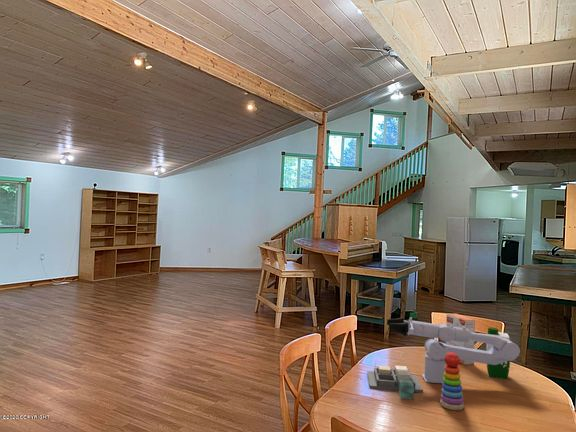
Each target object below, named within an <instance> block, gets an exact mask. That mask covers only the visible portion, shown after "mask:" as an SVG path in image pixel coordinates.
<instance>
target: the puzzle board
mask: <svg viewBox="0 0 576 432" xmlns="http://www.w3.org/2000/svg"><path fill="white" fill-rule="evenodd" d="M373 368H374V369H373V371H370V370H367V371H366V374H367V380H368V381H367V382H368V385H369V389H373V390H376V389H377V390H385V391H387V390H388V391H396V392H397V391H398V392H399V380H405V381H412V383H413V385H414V393H422V394H423V393H424V388H423V387H422V385H421V383H420V380H419V379H418V377H417V375H416V374H411V371H410V369H408V368H407V366H405V365H404V366H403V365H395V366H394V368H391V367H390V366H389V365H380V364H379V365H378V367H373Z"/></svg>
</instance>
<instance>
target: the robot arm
mask: <svg viewBox="0 0 576 432" xmlns="http://www.w3.org/2000/svg"><path fill="white" fill-rule="evenodd" d="M386 325H387V326H388V329H389V330H391V331H394V332H396V333H398V334H400V335H403V336H404V337H407V335H408V336H410V335H412V336H419V337H425V338H429V339H427V340H426V341H425V342H424V350H425V351H426V353H425V355H424V373H422V374H421V376H422V379H424V382H425V383H436V384H443V378H444V372H445V369H444V368H445V366H446V365H447V364H446V363H445V355H446V354H447V353H450V352H452V353H455V354H457V355H458V356H459V359H460V360H466V361H472V362H474V363H480V364H486V365H487V364H491V365H497V364H500V363H503V362H506V361H510V362H511V361H514V360H515V359H517V358H518V357H519V355H520V352H521V349H520V347H519V345H518V344H516V343H515V342H513V341H511V340H509V339H508V338H506V337H501V336H498V335H490V334H488V333H478V332H475V333H472V332H470V331H469V329H466V328H465V327H463V326H462V328H459V327H453V326H452V325H450V326H449V327H448V326H447V325H446V323H445V324H444V323H442V322H441V323H438V324H437V323H432V322H431V323H430V322H426V321H417V320H413V317H412V316H411V317H409V318H408V320H405V317H404V316H402V317H398V318H388V319H387V321H386ZM437 339H440V340H441V341H444V342H445V343H444V342H440V341H439V340H437ZM450 340H451V341H457V342H463V343H468V342H470V341H475V343H476V342H477V343H483V344H486V345H487V344H491V345H493V346H492V348H491V349H490V350H489V351H487V350H483V349H482V350H481V349H478V348H477V349H476V348H474V349H471V348H464V347H458V346H451V345H447V344H446V342H448V341H450Z"/></svg>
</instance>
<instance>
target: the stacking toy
mask: <svg viewBox="0 0 576 432" xmlns="http://www.w3.org/2000/svg"><path fill="white" fill-rule="evenodd" d="M445 363H446V364H447V365H446V366H445V368H444V369H445V372H444V378H443V383H441V384H442V388H441V394H440V400H439V404H440V405H441V406H442V408H445V409H447V410H451V411H462V410H463V409H465V408H464V407H465V404H464V397H463V396H464V394H463V393H464V392H463V391H462V390H463V386H462V380H461V374H460V371H461V370H460V368H459V365H460V364H461V363H460V359H459V356H458V355H457V354H455V353H452V352H450V353H447V354H446V355H445Z"/></svg>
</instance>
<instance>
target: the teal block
mask: <svg viewBox="0 0 576 432" xmlns="http://www.w3.org/2000/svg"><path fill="white" fill-rule="evenodd" d="M414 393H415V392H414V385H413V383H412V381H405V380H399V391H398V394H399V397H400V399H407V400H414Z"/></svg>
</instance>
